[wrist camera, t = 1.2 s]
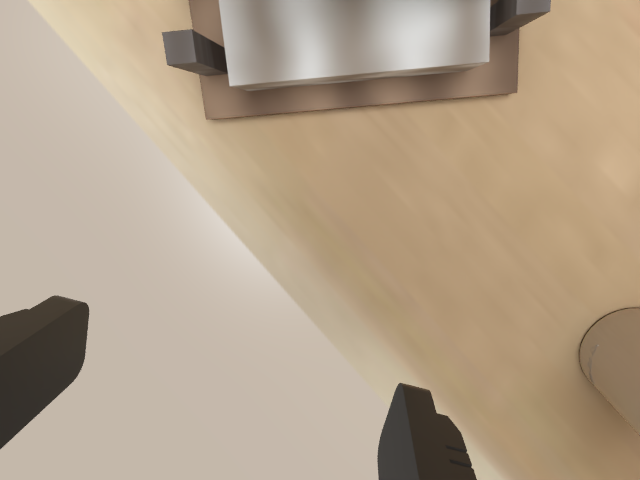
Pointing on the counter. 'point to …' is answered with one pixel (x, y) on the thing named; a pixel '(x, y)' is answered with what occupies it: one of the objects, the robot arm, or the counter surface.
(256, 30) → the base
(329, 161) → the counter surface
